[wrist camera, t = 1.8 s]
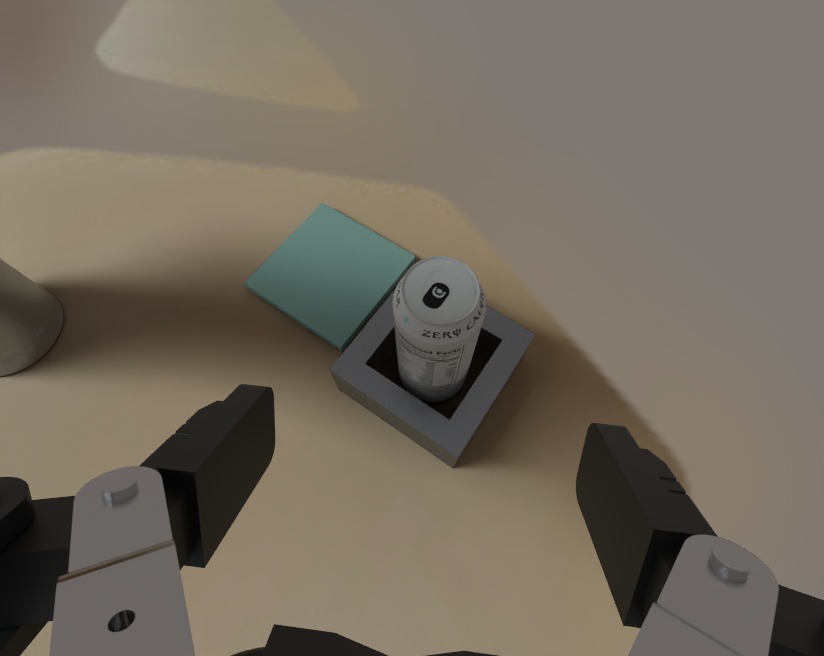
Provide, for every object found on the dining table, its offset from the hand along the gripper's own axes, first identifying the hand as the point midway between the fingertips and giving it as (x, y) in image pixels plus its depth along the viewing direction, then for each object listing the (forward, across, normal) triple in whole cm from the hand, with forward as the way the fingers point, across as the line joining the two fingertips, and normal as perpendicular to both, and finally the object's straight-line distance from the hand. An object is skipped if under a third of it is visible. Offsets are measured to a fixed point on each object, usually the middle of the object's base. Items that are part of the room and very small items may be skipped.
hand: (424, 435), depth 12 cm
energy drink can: (+28, 0, +11) cm, 30 cm away
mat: (+34, +11, +4) cm, 36 cm away
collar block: (+28, 0, +11) cm, 30 cm away
